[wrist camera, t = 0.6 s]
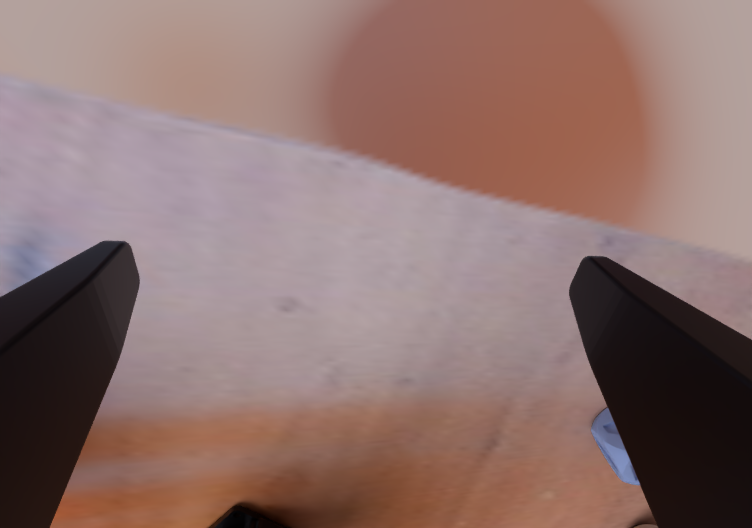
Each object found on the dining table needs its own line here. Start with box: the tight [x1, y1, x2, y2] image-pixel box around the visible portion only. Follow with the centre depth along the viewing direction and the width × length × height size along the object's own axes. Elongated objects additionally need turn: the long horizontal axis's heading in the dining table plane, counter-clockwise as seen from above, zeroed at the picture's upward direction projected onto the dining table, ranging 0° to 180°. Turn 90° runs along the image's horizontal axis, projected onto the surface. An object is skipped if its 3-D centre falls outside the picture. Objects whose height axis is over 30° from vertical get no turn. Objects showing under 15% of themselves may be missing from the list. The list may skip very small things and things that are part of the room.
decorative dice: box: [591, 408, 640, 485], centre depth 33 cm, size 4×4×4 cm
